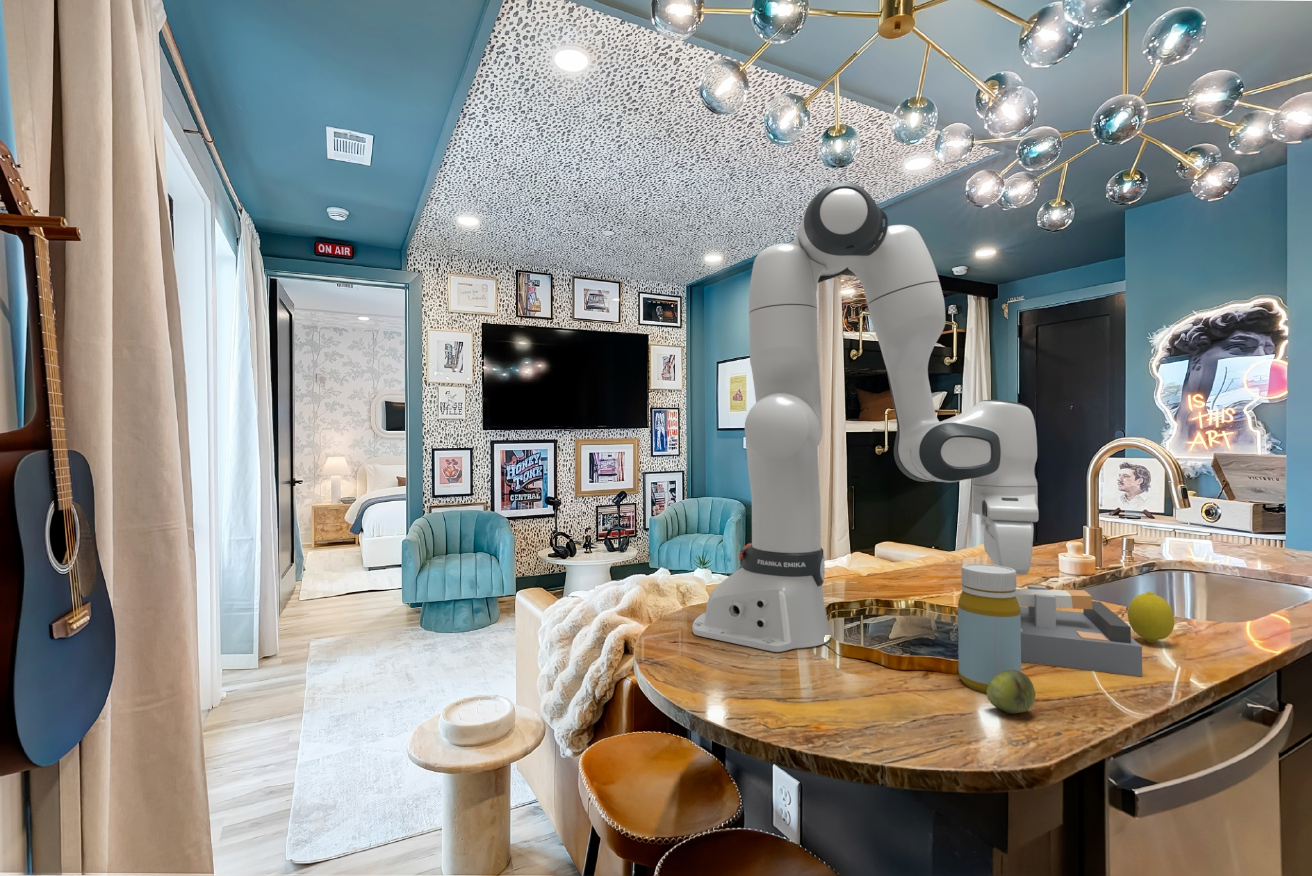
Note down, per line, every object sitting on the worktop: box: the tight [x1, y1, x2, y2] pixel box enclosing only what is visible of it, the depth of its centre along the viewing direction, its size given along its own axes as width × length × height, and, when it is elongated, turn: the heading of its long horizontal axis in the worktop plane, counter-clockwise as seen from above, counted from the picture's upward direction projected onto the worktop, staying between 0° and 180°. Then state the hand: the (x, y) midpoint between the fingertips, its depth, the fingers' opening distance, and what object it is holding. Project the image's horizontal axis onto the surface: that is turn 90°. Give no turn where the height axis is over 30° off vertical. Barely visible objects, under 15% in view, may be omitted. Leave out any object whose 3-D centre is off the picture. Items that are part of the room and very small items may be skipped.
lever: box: [1016, 588, 1093, 610], centre depth 89 cm, size 12×4×2 cm, turn 67°
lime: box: [985, 670, 1036, 715], centre depth 68 cm, size 4×5×5 cm
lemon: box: [1127, 591, 1175, 644], centre depth 91 cm, size 6×6×8 cm
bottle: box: [957, 563, 1022, 694], centre depth 76 cm, size 7×7×15 cm
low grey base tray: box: [1020, 584, 1143, 677], centre depth 89 cm, size 20×16×9 cm
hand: (1004, 592), depth 91 cm, fingers closed, pressing on lever
